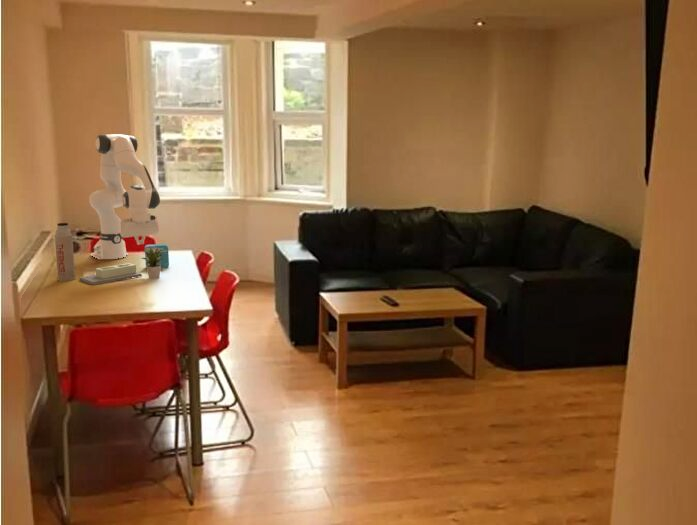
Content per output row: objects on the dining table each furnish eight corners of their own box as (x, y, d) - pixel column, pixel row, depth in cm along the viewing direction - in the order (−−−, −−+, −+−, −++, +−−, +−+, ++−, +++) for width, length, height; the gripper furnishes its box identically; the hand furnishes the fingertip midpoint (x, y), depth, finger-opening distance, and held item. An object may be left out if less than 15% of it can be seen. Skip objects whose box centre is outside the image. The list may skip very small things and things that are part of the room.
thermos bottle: (66, 281, 348) (61, 224, 342) (54, 279, 351) (50, 223, 346) (79, 278, 355) (74, 222, 349) (67, 276, 358) (63, 221, 353)
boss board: (79, 280, 350) (78, 271, 350) (127, 272, 369) (126, 263, 368) (93, 285, 341) (92, 276, 340) (141, 276, 360) (141, 267, 359)
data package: (145, 268, 378) (144, 246, 376) (145, 266, 383) (144, 244, 380) (169, 267, 382) (168, 245, 379) (168, 265, 386) (167, 243, 383)
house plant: (160, 282, 348) (158, 249, 344) (134, 280, 351) (132, 248, 347) (173, 276, 362) (171, 244, 358) (147, 274, 364) (146, 243, 361)
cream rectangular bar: (129, 270, 366) (129, 263, 365) (136, 272, 362) (136, 264, 361) (96, 276, 353) (95, 268, 352) (102, 278, 348) (102, 270, 348)
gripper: (123, 220, 352) (125, 247, 355) (159, 216, 367) (161, 242, 370) (117, 218, 356) (118, 246, 359) (153, 214, 371) (154, 241, 374)
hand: (140, 244), depth 365 cm, fingers closed
